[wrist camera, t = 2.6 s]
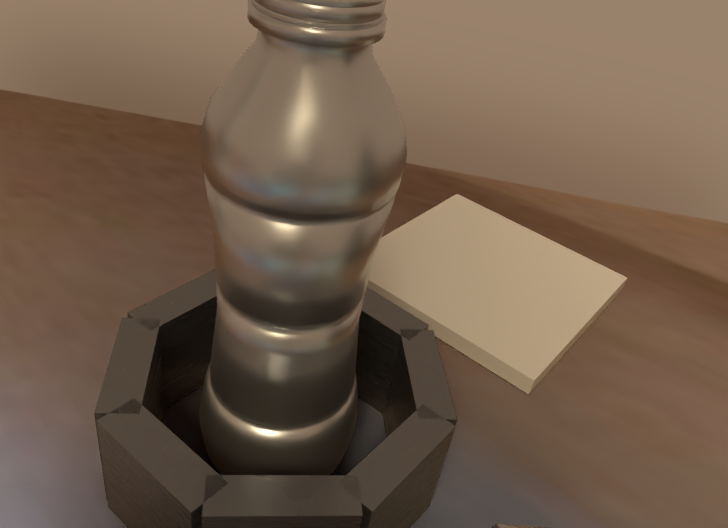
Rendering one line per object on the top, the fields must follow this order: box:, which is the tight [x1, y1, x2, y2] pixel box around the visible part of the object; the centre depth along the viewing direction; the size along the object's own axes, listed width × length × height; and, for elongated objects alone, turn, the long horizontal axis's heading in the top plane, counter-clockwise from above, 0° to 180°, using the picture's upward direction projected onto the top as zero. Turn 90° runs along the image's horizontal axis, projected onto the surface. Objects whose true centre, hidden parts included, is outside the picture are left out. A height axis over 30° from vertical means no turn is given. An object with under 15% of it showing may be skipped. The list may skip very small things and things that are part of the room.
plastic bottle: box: [199, 0, 407, 475], centre depth 23 cm, size 6×7×20 cm
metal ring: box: [94, 270, 457, 528], centre depth 27 cm, size 13×13×5 cm
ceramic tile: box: [367, 194, 627, 394], centre depth 41 cm, size 13×13×1 cm
